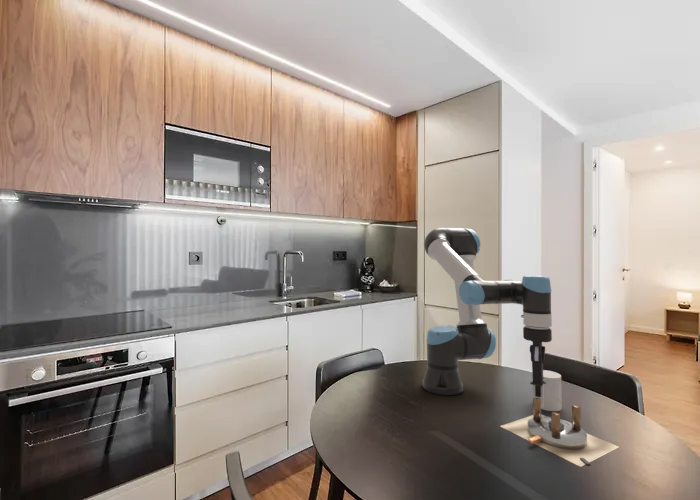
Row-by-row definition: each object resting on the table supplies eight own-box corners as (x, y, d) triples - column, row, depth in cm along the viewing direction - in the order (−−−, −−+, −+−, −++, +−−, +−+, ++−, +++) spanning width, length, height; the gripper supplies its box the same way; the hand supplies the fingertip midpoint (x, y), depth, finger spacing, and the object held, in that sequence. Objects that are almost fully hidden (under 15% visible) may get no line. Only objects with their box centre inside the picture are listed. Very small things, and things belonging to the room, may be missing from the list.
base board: (499, 431, 99) (499, 425, 99) (538, 417, 108) (538, 412, 108) (583, 474, 79) (583, 467, 80) (622, 454, 88) (622, 447, 88)
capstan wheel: (507, 433, 95) (506, 404, 95) (546, 418, 104) (546, 392, 104) (557, 459, 83) (557, 426, 83) (598, 440, 91) (597, 411, 91)
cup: (566, 416, 109) (565, 379, 109) (538, 414, 110) (537, 377, 111) (556, 406, 117) (555, 370, 117) (530, 404, 118) (529, 369, 119)
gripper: (525, 322, 111) (526, 396, 110) (521, 329, 99) (522, 411, 99) (552, 324, 107) (553, 401, 106) (551, 331, 95) (552, 417, 95)
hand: (538, 406), depth 102 cm, fingers closed
